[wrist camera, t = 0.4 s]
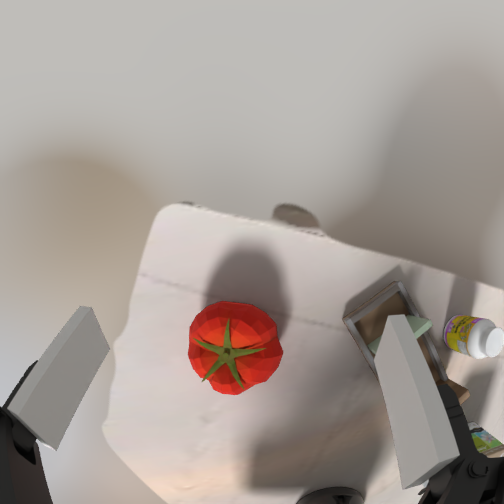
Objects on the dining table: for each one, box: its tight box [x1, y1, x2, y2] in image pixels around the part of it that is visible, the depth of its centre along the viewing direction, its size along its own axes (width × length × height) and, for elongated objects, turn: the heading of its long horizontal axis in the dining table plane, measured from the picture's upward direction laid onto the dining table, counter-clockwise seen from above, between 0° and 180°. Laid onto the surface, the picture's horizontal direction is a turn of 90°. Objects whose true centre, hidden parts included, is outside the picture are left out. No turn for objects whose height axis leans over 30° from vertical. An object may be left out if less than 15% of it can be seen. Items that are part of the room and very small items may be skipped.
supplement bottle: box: [444, 315, 504, 359], centre depth 35 cm, size 7×7×13 cm
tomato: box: [188, 301, 283, 395], centre depth 40 cm, size 13×14×12 cm
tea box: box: [422, 422, 504, 487], centre depth 31 cm, size 15×10×15 cm, turn 175°
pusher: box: [367, 315, 432, 355], centre depth 38 cm, size 5×9×8 cm, turn 122°
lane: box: [342, 281, 470, 405], centre depth 37 cm, size 23×11×10 cm, turn 32°
